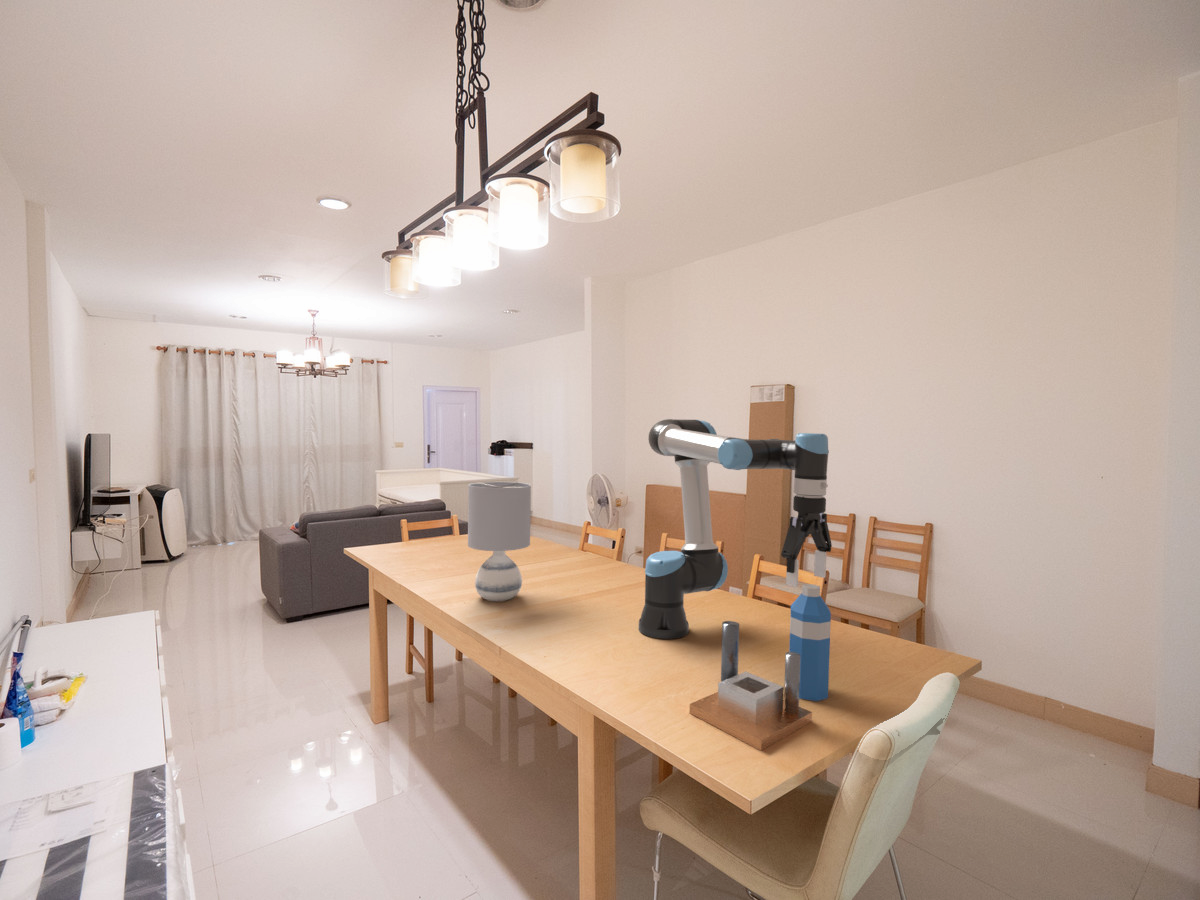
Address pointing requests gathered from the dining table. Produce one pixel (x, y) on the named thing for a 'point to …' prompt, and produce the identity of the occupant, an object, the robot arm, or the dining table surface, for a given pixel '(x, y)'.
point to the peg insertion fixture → (756, 706)
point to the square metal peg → (729, 649)
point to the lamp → (499, 534)
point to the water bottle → (811, 642)
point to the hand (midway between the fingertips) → (806, 581)
